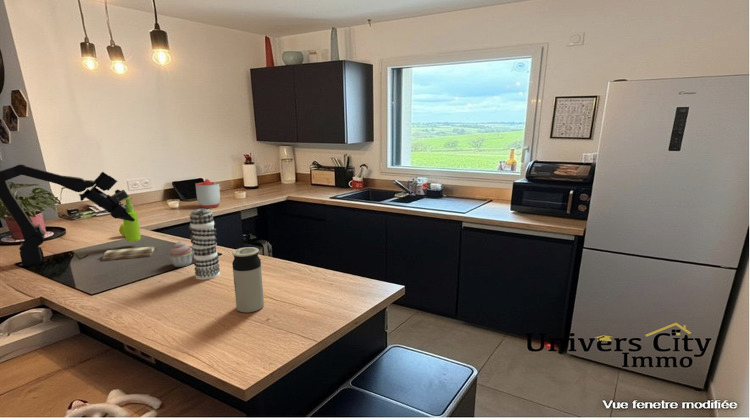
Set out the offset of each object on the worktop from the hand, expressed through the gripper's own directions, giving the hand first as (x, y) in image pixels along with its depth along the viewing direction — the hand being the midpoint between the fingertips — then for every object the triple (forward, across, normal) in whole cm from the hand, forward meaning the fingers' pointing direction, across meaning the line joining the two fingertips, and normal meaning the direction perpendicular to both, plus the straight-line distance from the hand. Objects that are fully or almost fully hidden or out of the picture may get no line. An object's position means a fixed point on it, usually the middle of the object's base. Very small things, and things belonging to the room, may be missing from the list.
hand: (133, 219), depth 175 cm
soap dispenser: (+6, 0, +8) cm, 10 cm away
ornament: (+9, +23, +10) cm, 26 cm away
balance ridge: (+6, -14, +12) cm, 19 cm away
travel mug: (+21, -97, -2) cm, 99 cm away
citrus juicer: (+48, +74, -31) cm, 94 cm away
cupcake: (+16, -42, +2) cm, 45 cm away
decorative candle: (+19, -61, -1) cm, 64 cm away
